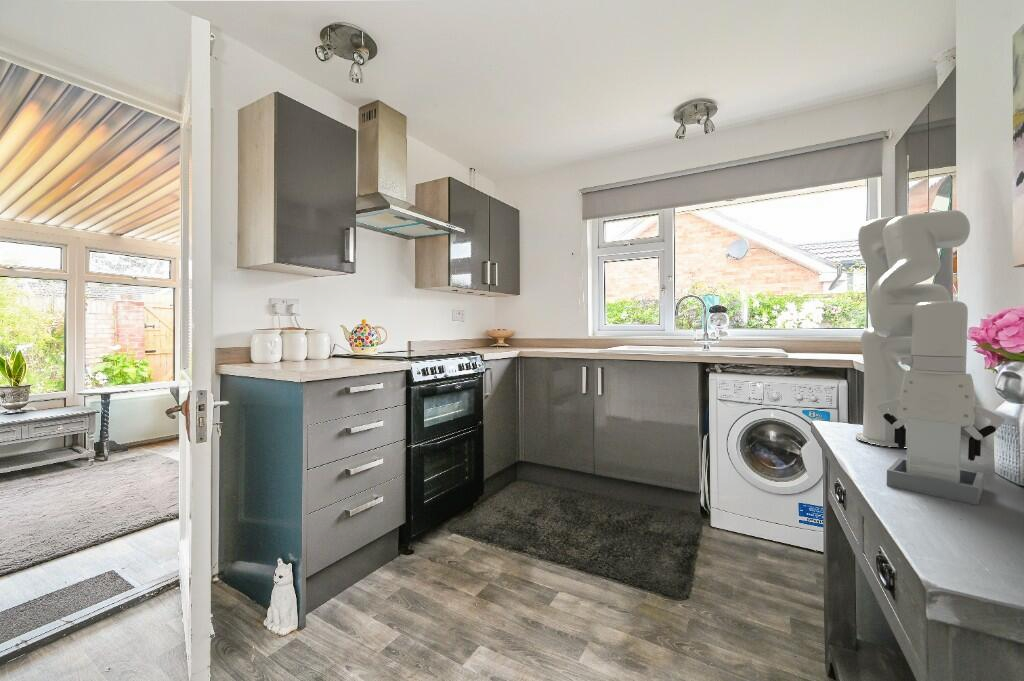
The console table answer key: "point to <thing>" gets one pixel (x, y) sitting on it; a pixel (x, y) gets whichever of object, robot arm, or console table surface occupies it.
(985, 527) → the console table surface
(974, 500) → the holder tray
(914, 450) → the supplement box
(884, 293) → the robot arm
